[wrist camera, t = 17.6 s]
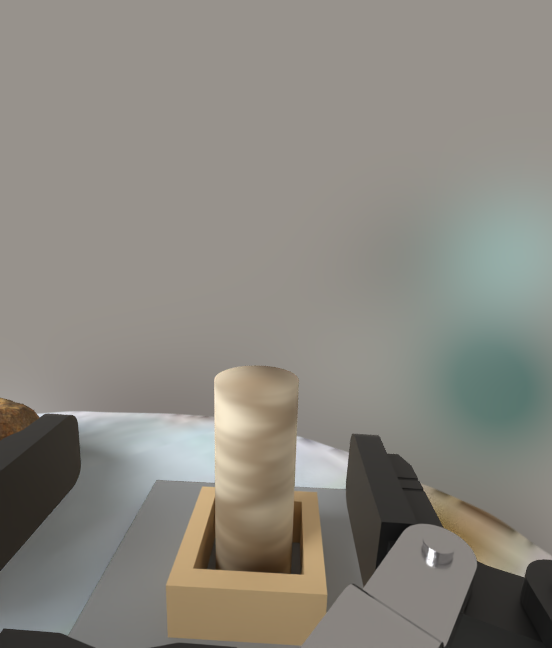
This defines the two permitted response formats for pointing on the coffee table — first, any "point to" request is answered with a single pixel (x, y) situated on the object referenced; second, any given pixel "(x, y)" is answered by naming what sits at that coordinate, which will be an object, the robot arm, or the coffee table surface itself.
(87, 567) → the coffee table surface
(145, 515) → the collar board
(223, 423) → the wooden peg
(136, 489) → the coffee table surface
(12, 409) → the rough brown rock
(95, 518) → the coffee table surface
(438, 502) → the coffee table surface
